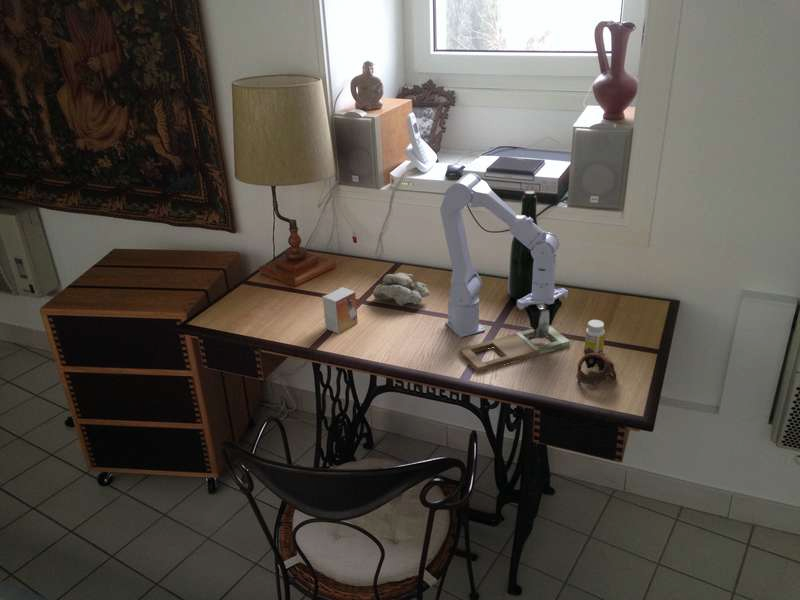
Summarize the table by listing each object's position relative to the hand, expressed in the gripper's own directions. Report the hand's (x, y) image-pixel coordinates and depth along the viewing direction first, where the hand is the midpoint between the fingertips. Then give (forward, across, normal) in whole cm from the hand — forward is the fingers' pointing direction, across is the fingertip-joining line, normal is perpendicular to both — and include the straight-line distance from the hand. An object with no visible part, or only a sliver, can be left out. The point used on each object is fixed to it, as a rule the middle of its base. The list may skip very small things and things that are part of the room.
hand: (541, 325), depth 182 cm
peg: (+2, 0, 0) cm, 3 cm away
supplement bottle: (+6, +10, -10) cm, 15 cm away
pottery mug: (+6, +3, -20) cm, 21 cm away
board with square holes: (+5, -8, 0) cm, 10 cm away
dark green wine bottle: (+5, +12, +26) cm, 29 cm away
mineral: (+5, -23, +40) cm, 47 cm away
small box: (+5, -45, +34) cm, 57 cm away
